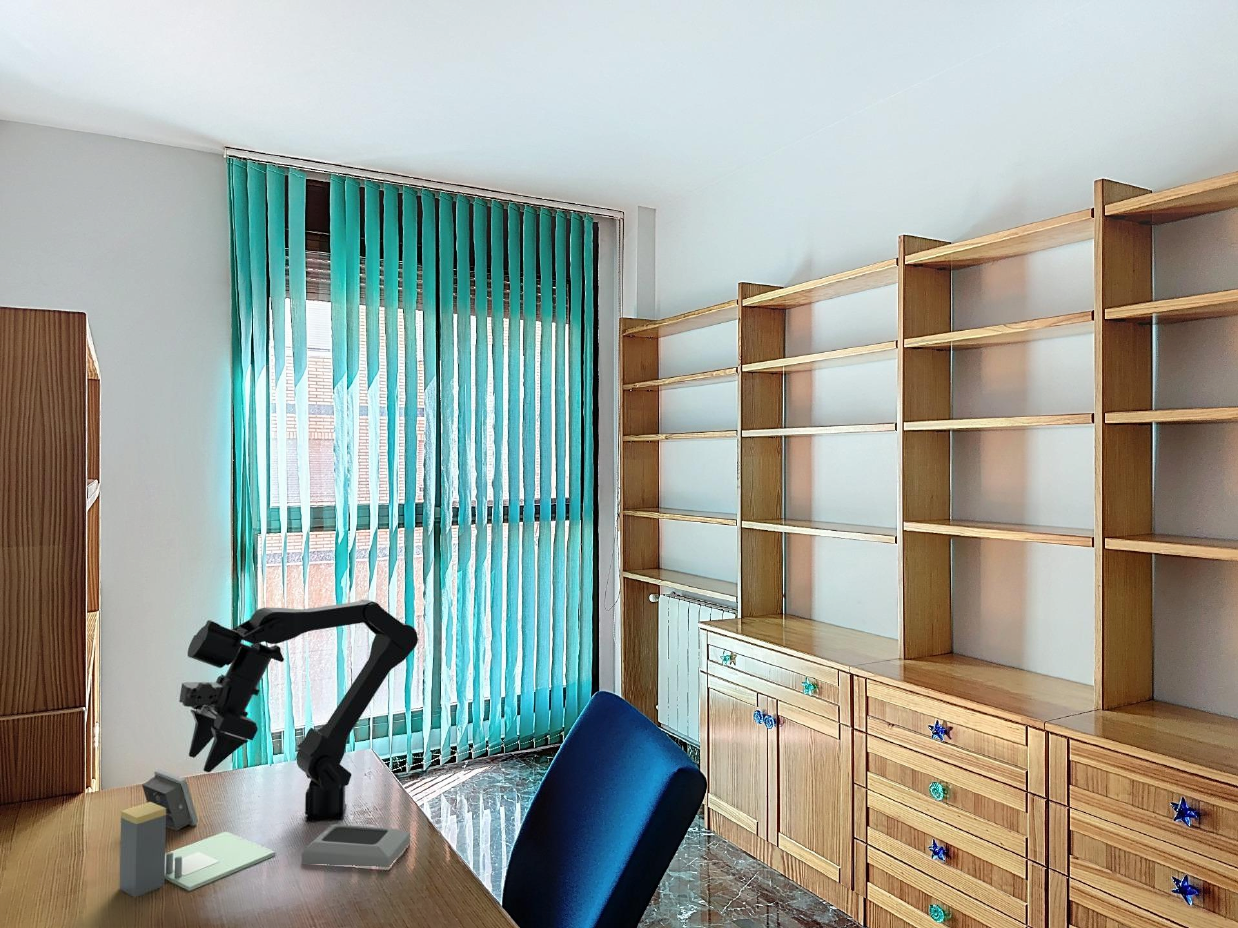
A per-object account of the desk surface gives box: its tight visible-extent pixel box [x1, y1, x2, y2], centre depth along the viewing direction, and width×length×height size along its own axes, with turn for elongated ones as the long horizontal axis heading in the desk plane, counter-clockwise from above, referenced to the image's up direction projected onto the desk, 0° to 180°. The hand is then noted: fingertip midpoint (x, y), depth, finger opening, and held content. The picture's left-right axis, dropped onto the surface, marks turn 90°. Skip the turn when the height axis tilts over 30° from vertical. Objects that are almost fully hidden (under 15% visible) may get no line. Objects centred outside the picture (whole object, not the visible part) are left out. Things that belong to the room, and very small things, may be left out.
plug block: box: [119, 802, 167, 898], centre depth 134 cm, size 4×4×12 cm
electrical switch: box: [141, 769, 199, 832], centre depth 158 cm, size 9×5×9 cm, turn 57°
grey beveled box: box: [300, 823, 411, 867], centre depth 147 cm, size 10×4×15 cm
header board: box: [165, 831, 276, 891], centre depth 144 cm, size 15×14×4 cm
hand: (198, 763), depth 149 cm, fingers open, 9 cm apart
